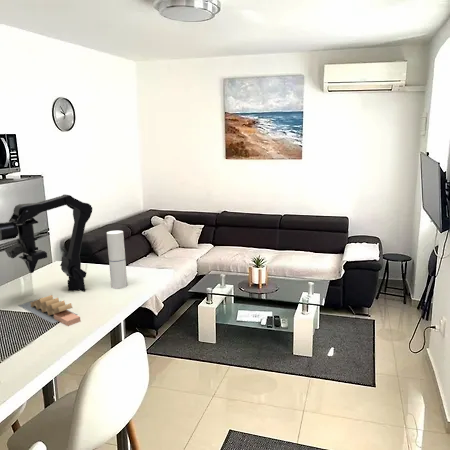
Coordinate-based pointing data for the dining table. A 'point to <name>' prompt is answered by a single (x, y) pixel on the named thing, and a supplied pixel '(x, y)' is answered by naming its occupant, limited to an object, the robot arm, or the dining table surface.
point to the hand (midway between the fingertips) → (31, 272)
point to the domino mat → (39, 312)
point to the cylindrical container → (117, 259)
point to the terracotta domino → (67, 317)
